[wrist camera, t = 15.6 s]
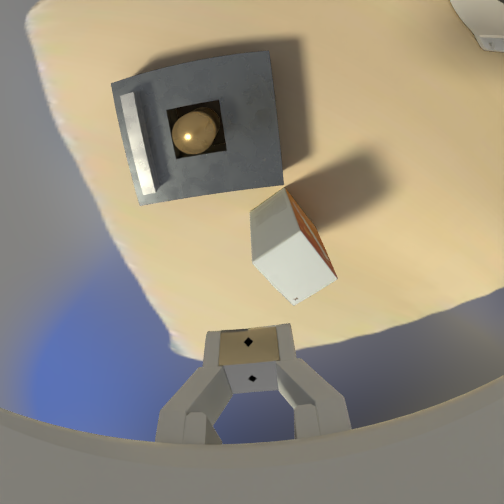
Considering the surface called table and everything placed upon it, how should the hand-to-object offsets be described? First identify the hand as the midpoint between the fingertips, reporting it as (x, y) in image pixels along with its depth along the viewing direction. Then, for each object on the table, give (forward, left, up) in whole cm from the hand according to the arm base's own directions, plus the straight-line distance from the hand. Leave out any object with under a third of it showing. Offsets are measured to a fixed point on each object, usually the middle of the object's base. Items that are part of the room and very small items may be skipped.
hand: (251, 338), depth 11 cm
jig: (+5, -4, -31) cm, 32 cm away
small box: (-4, +11, -31) cm, 33 cm away
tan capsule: (+5, -4, -31) cm, 32 cm away
